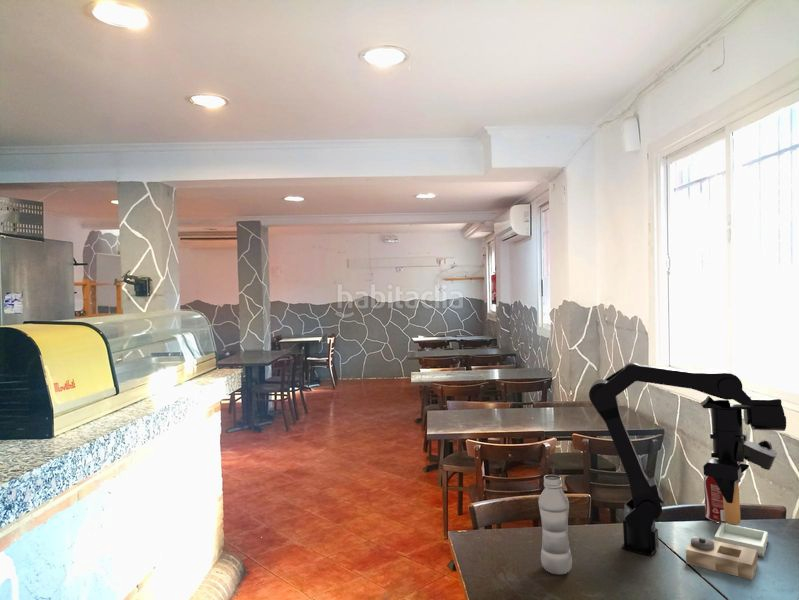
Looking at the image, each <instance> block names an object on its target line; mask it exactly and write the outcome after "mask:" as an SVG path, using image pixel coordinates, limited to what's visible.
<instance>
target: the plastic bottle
mask: <svg viewBox="0 0 799 600" xmlns="http://www.w3.org/2000/svg"><path fill="white" fill-rule="evenodd" d="M543 486H544V489H543V490H542V492H541V494H540V495H539V497H538V502H537V503H538V507H539V508H538V509H539V513H540V520H541V527H542V528H541V529H542V539H541V540H542V543H541V552H540V561H541V566H542V567H543V568H544V570H545V571H546V572H547V571H548V572H547V573H549V572H550V573H549V574H553V575H558V576H559V575H566V574H568V573H569V572H570V570H571V569H572V565H573V564H572V563H573V558H572V553H571V549H570V543H569V534H568V529H569V528H568V527H569V526H568V524H569V523H568V520H569V508H570V502H569V500H568V496H567V495H566V494H565V492H564V491H563V489H562V487H563V483H562V478H561V476H560V475H557V474H546V475H544V476H543ZM567 572H568V573H567Z"/></svg>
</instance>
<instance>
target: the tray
mask: <svg viewBox="0 0 799 600" xmlns="http://www.w3.org/2000/svg"><path fill="white" fill-rule="evenodd" d="M714 541H719V542H723V543H728V544H732V545H737V546H741V547H746V548H750V549H755V550H757V557H764V556H765V554H764V553H766V551H767V547H766V546H768V544H767V542H768V543H769V536H768V531H765V530H759V529H754V528H750V527H744V526H741V525H740V526H739V525H737V524H726V523H721V524H719V527H718V529H717V530H716V533H715V535H714Z"/></svg>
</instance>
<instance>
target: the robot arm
mask: <svg viewBox="0 0 799 600" xmlns="http://www.w3.org/2000/svg"><path fill="white" fill-rule="evenodd" d="M636 382H642V383H648V384H654V385H655V384H656V385H663V386H670V387H676V388H684V389H689V390H693V391H697V392H700V393H703V394H705V395H707V397H706V398H705V399H704V400H703V401H701V402H700V406H701V407H702V408H703V409H710V414H711V415H710V416H711V432H710V433H709V437H710V440H711V439H712V451H711V452H710V454H711V458H710V459H709V460H708V461H706V462H705V464H704V465H703V466H702V468H703V475H704V477H705V476H710V477H713V479H714V480H715V482H716V484H717V486H718V487H719V489H720V491H721V493H722V495H723V496H724V498H725V500H726V502H727V503H733V498H734V491H735V484H736V481H737V480H739V479H741V478H742V477H743V476H744V472H745V471H747V470H748V469H749V467H750V465H749V464H747V463H745V460H746V461H747V462H750V463H751V464H755V465H756V466H759V467H760V468H761V469H764V470H767V471H770V470H771V468H772V466H773V464H774V462H775V459H776V456H777V451H776V450H775V449H773V445H772V442H771V441H768V440H766V439H762V440H761V441H759V442H758V443H757V441H753V442H752V441H750V440H748V439H747V437H748V436H747V434H745V433H746V432H744V427H743V420H744V424H745V425H746V426H750V428H751V430H753V431H773V432H774V431H779V432H781V431H782V432H784V431H786V429H787V416H786V415H785V411H784V407H783V404H782V399H780V398H779V397H768V398H757V397H754V398H753V397H752V398H751V395H749V394H748V393H746V392H745V391H744V390H743V382H742V380H741V379H740V377H738V376H737V375H735V374H734V373H732V372H731V371H729V370H725V369H704V370H703V369H702V370H687V369H686V370H685V369H679V368H678V369H676V368H670V367H664V366H663V367H662V366H654V365H649V364H648V365H647V364H639V363H636V362H628V363H625V365H624V366H623V367H622V368H620V369H619V370H617V371H616V372H614V373H613V374H611V375H609V376H608V377H607V378H605V379H596V380H595V381H594V382H592V384H591V385H590V389H589V392H588V397H589V400H590V403H591V404H592V405H593V407H594V408H595V410H596V412H597V413H598V414H599V416H600V417H601V419H602V420H603V421H604V423H605V425H606V427H607V430H608V433H609V435H610V437H611V439H612V442H613V445H614V447H615V450H616V453H617V455H618V456H619V459H620V462H621V464H622V467H623V469H624V471H625V474H626V476H627V479H628V484H629V488H630V493H631V498H630V499H628V501H626V502H625V503H624V518H623V519H622V530H623V533H622V535H623V544H622V545H621V549H622V550H626V551H630V552H634V553H638V554H641V555H646V556H648V557H649V556H650V557H651V556H653V554H654V553H655V551H657V549H658V548H659V543H660V542H659V529H658V528H656V522H655V520H657V519H658V518H660V517H661V514H662V513H663V507H662V506H663V505H662V504H664V498H663V494H662V491H661V490H660V489H659V487H658V485H657V481H656V477H655V476H653V477H652V478H651V477H650V478H649V477H648V475H647V474H646V472H644V469H643V466H642V464H641V461H640V459H639V457H638V454H637V452H636V449H635V447H634V445H633V442H632V440H631V437H630V436H629V432H628V430H627V427H626V425H625V423H624V420H623V418H622V415H621V411H620V406H619V401H618V396H619V395H620V394H621V393H623V392H624V391H625V390H626V389H627V388H628V387H630V386H631V385H632V384H634V383H636ZM711 396H712V397H715V398H719V399H713V398H712V397H711ZM730 400H733V401H735V402H736V403H737V404H735V403H731V402H730ZM738 403H739V404H738ZM742 411H743V412H742Z"/></svg>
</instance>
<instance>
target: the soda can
mask: <svg viewBox="0 0 799 600" xmlns="http://www.w3.org/2000/svg"><path fill="white" fill-rule="evenodd" d="M703 491H704V492H703V493H704V494H703V495H704V514H705V518H707V519H708V520H710V521H711V522H713V521H714V522H713V523H715V522H719V523H727V522H725V520H724V503H723V495H722V493H721V491H720V489H719V487H718V486H717V484H716V482H715V480H714V479H713V477H710V476H705V475H704V477H703ZM719 523H718V524H719Z"/></svg>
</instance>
